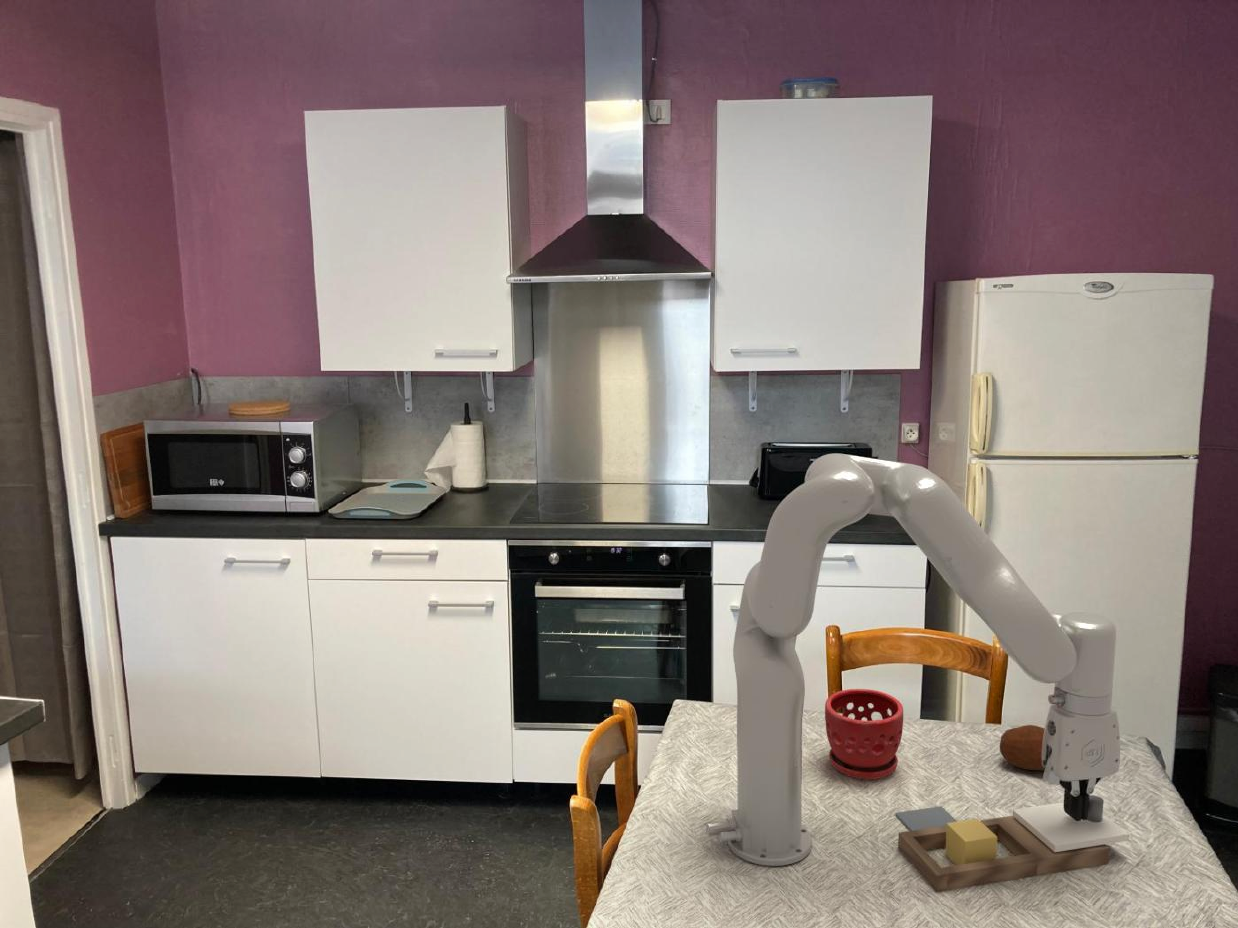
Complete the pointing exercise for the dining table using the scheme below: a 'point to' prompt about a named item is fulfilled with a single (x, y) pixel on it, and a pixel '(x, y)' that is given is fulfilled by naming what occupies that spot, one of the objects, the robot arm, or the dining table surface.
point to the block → (970, 842)
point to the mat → (925, 818)
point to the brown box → (1012, 834)
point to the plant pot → (864, 733)
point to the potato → (1023, 747)
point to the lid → (1070, 826)
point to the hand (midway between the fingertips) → (1075, 815)
